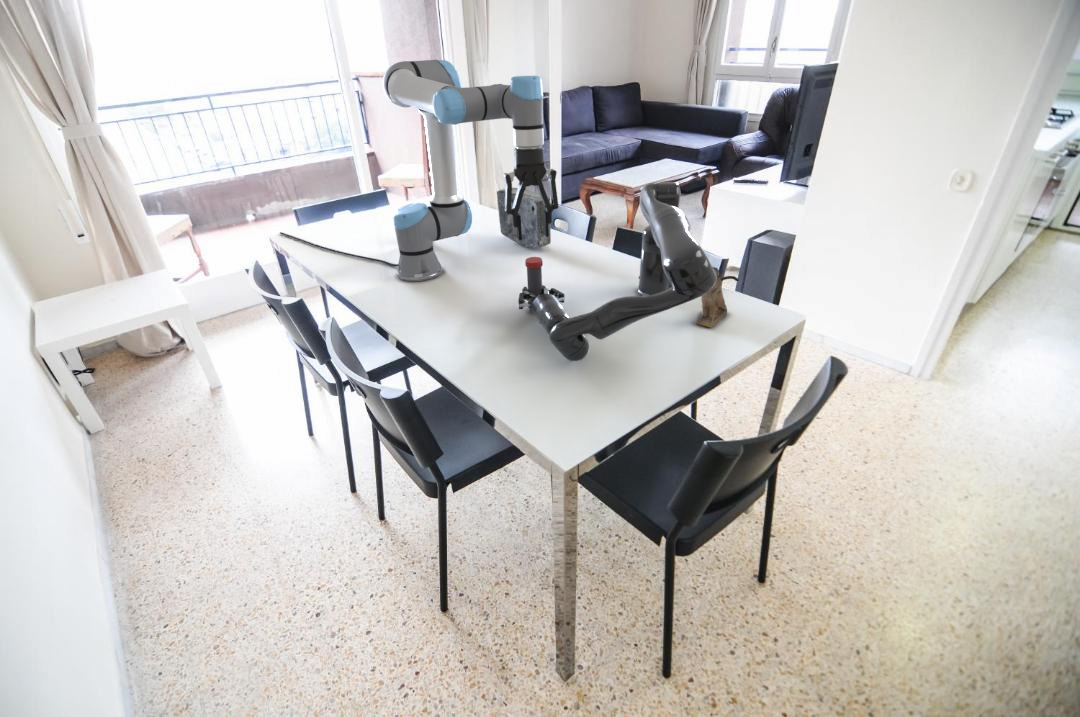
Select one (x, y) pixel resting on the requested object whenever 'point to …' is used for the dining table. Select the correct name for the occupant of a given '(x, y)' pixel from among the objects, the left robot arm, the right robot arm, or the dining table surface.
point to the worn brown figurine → (713, 305)
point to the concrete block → (524, 219)
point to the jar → (534, 281)
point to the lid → (533, 262)
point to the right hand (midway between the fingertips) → (532, 288)
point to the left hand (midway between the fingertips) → (532, 236)
